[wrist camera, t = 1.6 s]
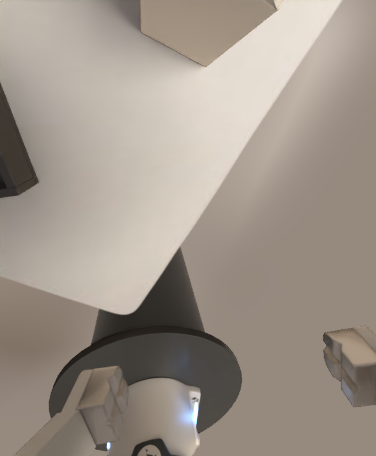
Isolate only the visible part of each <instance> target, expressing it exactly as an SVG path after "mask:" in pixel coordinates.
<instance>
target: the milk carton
mask: <svg viewBox="0 0 376 456" xmlns="http://www.w3.org/2000/svg"><path fill="white" fill-rule="evenodd" d="M282 1H283V0H140V7H141V32H142V33H144V34H145V35H147V36H149V37H151V38H153V39H155V40H157V41H159V42H160V43H162V44H164V45H166V46H168V47H170V48H172V49H173V50H175V51H177V52H179V53H181V54H183V55H185V56H186V57H188V58H190V59H192V60H194V61H196V62H198V63H200V64H201V65H203V66H205V67H207V66H208V65H209V64H211V63H212V62H213V61H214V60H216V59H217V58H218V57H219V56H221V55H222V54H223V53H224V52H226V51H227V50H228V49H229V48H231V47H232V46H233V45H234V44H236V43H237V42H238V41H239V40H241V39H242V38H243V37H245V36H246V35H247V34H248V33H250V32H251V31H252V30H253V29H255V28H256V27H257V26H258V25H260V24H261V23H262V22H263V21H265V20H266V19H267V18H268V17H270V16H271V15H272V14H273V13H275V12H276V11H278V10H279V8H280V6H281V3H282Z"/></svg>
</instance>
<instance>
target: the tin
mask: <svg viewBox="0 0 376 456" xmlns="http://www.w3.org/2000/svg"><path fill="white" fill-rule="evenodd" d="M37 183H39V182H38V179H37V177H36V174H35V172H34V169H33V166H32V164H31V161H30V159H29V156H28V154H27V151H26V148H25V146H24V143H23V141H22V138H21V135H20V133H19V130H18V128H17V125H16V122H15V120H14V117H13V115H12V112H11V109H10V107H9V104H8V102H7V99H6V96H5V94H4V91H3V89H2V86H1V83H0V198H3V197H10V196H17V195H20V194H22V193H23V192H25V191H27V190H28V189H30V188H31V187H33V186H34V185H36V184H37Z"/></svg>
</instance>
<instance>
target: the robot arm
mask: <svg viewBox="0 0 376 456" xmlns="http://www.w3.org/2000/svg"><path fill="white" fill-rule="evenodd" d="M323 341H324V342H325V344H326V345H327V346H326V347H325V348H324V350H323V352H324V359H325V362H326V365H327V367H328V369H329V371H330V373H331V374H332V376H333V377H334V378H336V379H337V380H339V381H340V382H341V389H342V391H343V392H344V394H345V396H346V397H347V399H348V400H349V401H350V403H351V405H352V406H353V407H361V406H370V405H376V334H375V333H374V332H372V331H371V330H370V329H369V328H368V327H366V326H360V327H355V328H348V329H342V330H337V331H331V332H325V333H324V335H323ZM122 374H123V371H122V369H121V366H112V367H105V368H97V369H91V370H84V371H82V372H81V373H80V374H79V376H78V378H77V380H76V383H75V385H74V387H73V389H72V391H71V393H70V395H69V397H68V399H67V401H66V403H65V405H64V407H63V409H62V411H61V413H57V414H56V415H55V416H54V417H53V418H52V419H51V420H50V421H49V422H48V423H47V424H46V425H45V426H44V427H43V428H42V429H40V431H39V432H38V433H36V434H35V435H34V436H33V437H32V438H31V439H30V440H29V441H28V442H27V443H26V444H25V445H24V446H23V447H22V448H21V449H20V450H19V451H18V452H17V453H16V454H15V455H14V456H90V455H91V454H92V452H93V451H94V449H95V448H96V445H99V444H105V443H107V448H108V450H107V456H193V454H194V452H195V450H196V447H199V446H200V441H199V434H198V431H197V430H196V420H197V413H198V406H199V401H200V396H201V393H200V388H198V387H194V386H187V385H185V384H183V383H181V382H179V381H177V380H174V379H170V378H151V379H146V380H142V381H139V382H136V383H134V384H132V385H130V386H128V385H127V382H126V380H124V379H123V378H122Z"/></svg>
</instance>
